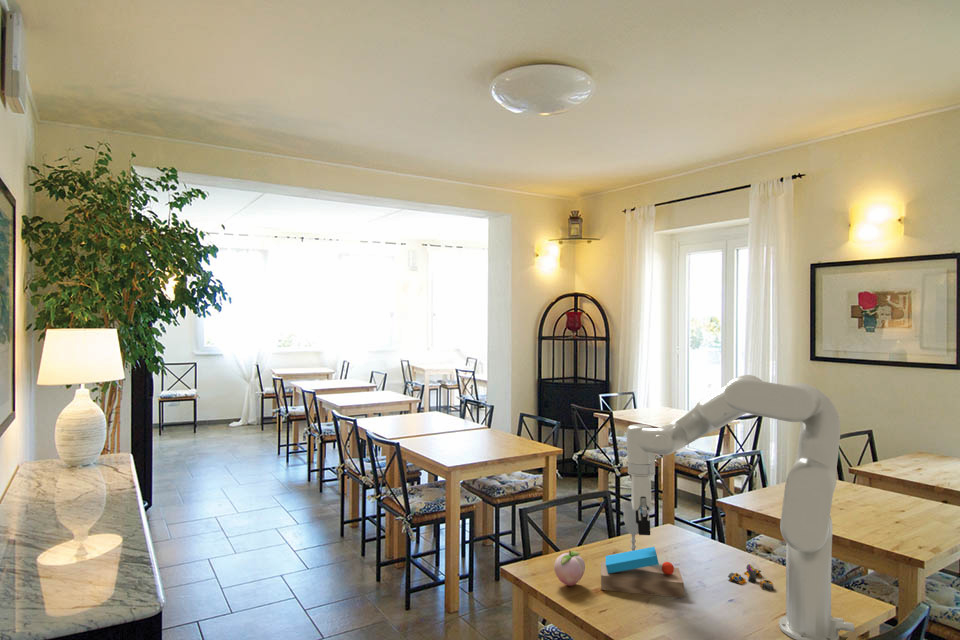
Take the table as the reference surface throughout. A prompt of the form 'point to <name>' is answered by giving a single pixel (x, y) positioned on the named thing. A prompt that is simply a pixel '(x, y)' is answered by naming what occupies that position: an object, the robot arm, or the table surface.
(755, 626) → the table surface
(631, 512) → the chalice
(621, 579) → the walnut riser block
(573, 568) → the decorative fruit
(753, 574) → the toy set
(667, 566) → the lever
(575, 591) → the table surface
